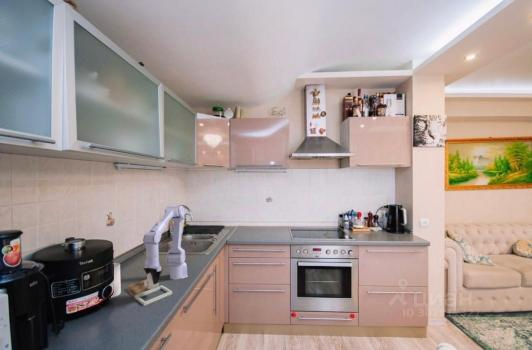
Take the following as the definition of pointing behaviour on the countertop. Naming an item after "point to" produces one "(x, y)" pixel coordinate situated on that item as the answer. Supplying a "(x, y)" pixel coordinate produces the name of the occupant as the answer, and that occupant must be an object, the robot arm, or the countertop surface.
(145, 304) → the tray
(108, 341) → the countertop surface
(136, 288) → the tray
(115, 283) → the cup
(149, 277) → the white rounded piece
